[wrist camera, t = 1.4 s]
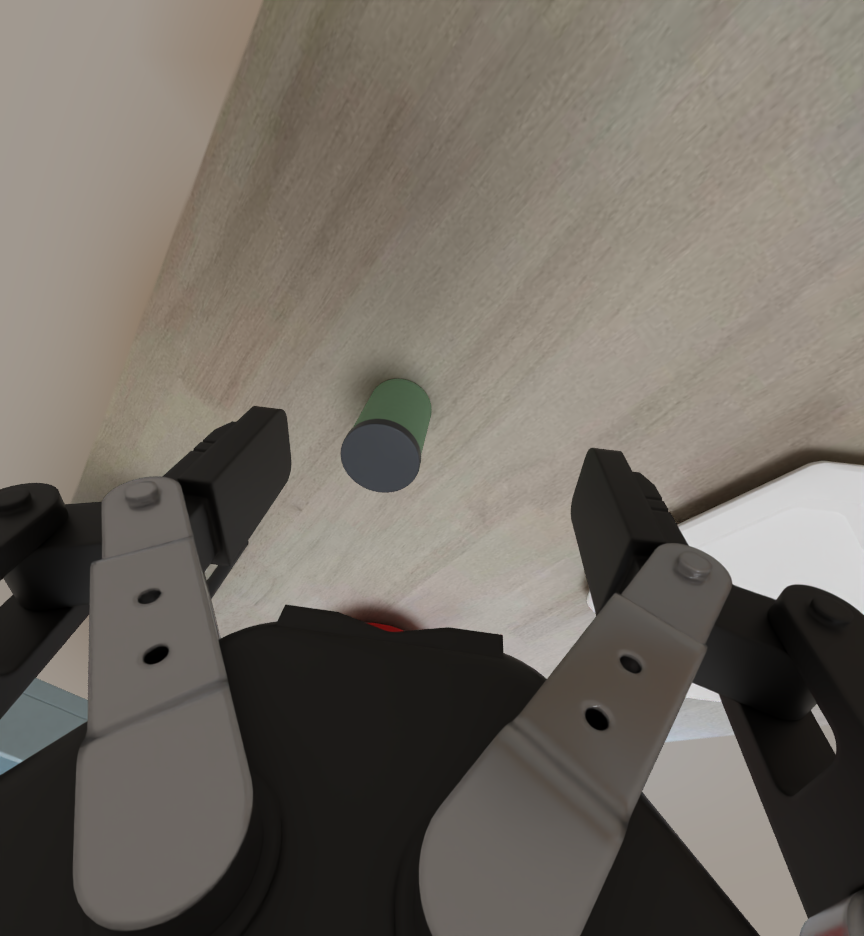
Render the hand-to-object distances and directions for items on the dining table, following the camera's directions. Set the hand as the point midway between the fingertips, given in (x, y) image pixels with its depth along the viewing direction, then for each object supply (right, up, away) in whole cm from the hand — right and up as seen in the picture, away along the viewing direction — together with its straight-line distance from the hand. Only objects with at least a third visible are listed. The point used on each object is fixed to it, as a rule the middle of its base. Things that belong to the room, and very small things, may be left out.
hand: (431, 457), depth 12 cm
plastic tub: (-2, +4, +24) cm, 24 cm away
